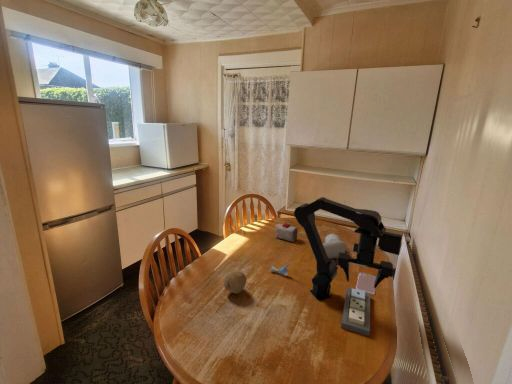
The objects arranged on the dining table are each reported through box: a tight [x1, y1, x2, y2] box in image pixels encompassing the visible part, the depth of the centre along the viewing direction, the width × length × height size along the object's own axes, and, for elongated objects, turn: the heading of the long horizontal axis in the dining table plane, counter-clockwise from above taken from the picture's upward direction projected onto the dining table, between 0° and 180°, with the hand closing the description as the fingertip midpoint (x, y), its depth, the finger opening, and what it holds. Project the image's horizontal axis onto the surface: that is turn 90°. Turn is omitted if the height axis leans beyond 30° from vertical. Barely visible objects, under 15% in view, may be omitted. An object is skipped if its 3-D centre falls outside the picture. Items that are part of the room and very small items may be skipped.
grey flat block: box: [340, 287, 371, 337], centre depth 97 cm, size 22×9×2 cm, turn 157°
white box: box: [274, 222, 299, 243], centre depth 157 cm, size 14×8×10 cm, turn 59°
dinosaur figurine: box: [269, 259, 293, 277], centre depth 118 cm, size 2×13×8 cm
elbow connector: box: [312, 233, 347, 260], centre depth 138 cm, size 18×11×20 cm
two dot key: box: [347, 307, 365, 326], centre depth 91 cm, size 5×5×2 cm
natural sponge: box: [223, 269, 247, 295], centre depth 105 cm, size 9×9×10 cm
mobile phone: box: [355, 272, 377, 295], centre depth 115 cm, size 8×1×15 cm
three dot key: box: [349, 297, 365, 312], centre depth 97 cm, size 5×5×2 cm
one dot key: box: [350, 288, 365, 301], centre depth 102 cm, size 5×5×2 cm
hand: (361, 284), depth 95 cm, fingers open, 9 cm apart
